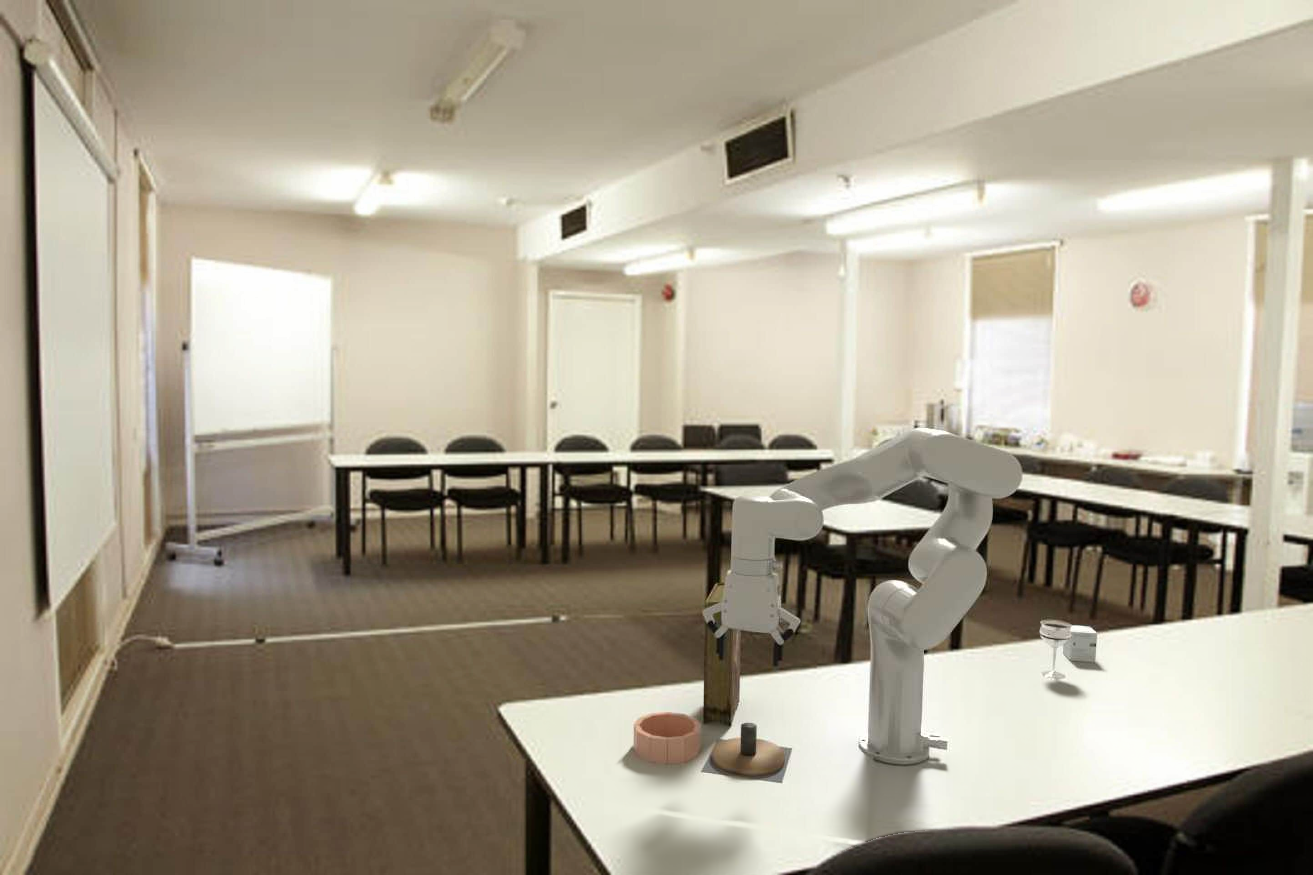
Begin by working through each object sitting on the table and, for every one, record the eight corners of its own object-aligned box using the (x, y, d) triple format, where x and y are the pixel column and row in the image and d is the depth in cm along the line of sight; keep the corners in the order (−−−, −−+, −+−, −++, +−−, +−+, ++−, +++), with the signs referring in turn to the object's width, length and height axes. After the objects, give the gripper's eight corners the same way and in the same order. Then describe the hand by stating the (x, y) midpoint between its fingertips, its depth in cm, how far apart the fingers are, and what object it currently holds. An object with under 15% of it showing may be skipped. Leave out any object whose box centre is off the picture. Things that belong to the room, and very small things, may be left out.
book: (714, 696, 190) (716, 581, 188) (740, 698, 189) (742, 583, 187) (703, 727, 174) (705, 602, 172) (730, 729, 173) (733, 604, 171)
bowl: (706, 742, 167) (706, 716, 166) (691, 770, 155) (691, 742, 155) (645, 734, 170) (645, 709, 170) (626, 761, 159) (626, 734, 158)
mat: (792, 751, 164) (792, 748, 164) (781, 785, 150) (781, 782, 150) (717, 741, 167) (717, 738, 167) (701, 774, 154) (701, 771, 154)
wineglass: (1074, 679, 202) (1077, 628, 201) (1044, 679, 202) (1047, 628, 201) (1061, 669, 209) (1064, 619, 208) (1032, 669, 209) (1035, 619, 208)
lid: (789, 748, 163) (789, 716, 163) (779, 780, 151) (780, 745, 150) (719, 740, 167) (720, 708, 166) (704, 770, 154) (705, 735, 154)
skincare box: (1069, 660, 216) (1071, 631, 215) (1062, 652, 222) (1063, 624, 221) (1096, 662, 215) (1097, 632, 214) (1088, 654, 221) (1089, 625, 220)
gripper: (804, 565, 157) (800, 659, 158) (709, 557, 162) (706, 649, 163) (799, 575, 150) (795, 673, 151) (699, 566, 155) (696, 662, 156)
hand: (749, 660), depth 157 cm, fingers open, 9 cm apart
